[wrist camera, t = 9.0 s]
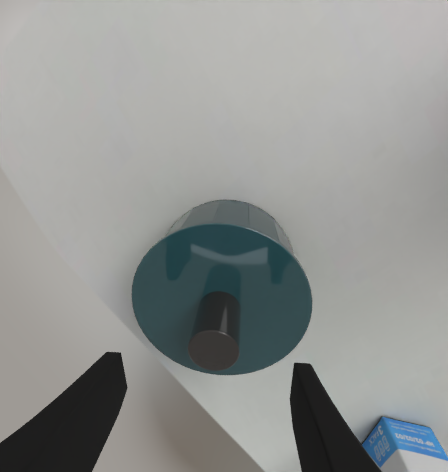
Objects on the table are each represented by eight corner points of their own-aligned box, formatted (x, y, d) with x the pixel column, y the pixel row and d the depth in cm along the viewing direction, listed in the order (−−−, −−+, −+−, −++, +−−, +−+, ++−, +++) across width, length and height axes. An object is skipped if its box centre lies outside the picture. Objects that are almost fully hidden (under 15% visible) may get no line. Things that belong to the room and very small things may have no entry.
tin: (146, 279, 22) (117, 324, 17) (199, 174, 19) (182, 192, 14) (249, 330, 23) (249, 386, 18) (317, 240, 20) (341, 279, 15)
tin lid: (115, 318, 18) (77, 374, 14) (181, 181, 14) (155, 203, 10) (250, 383, 19) (251, 451, 15) (345, 272, 15) (379, 324, 11)
